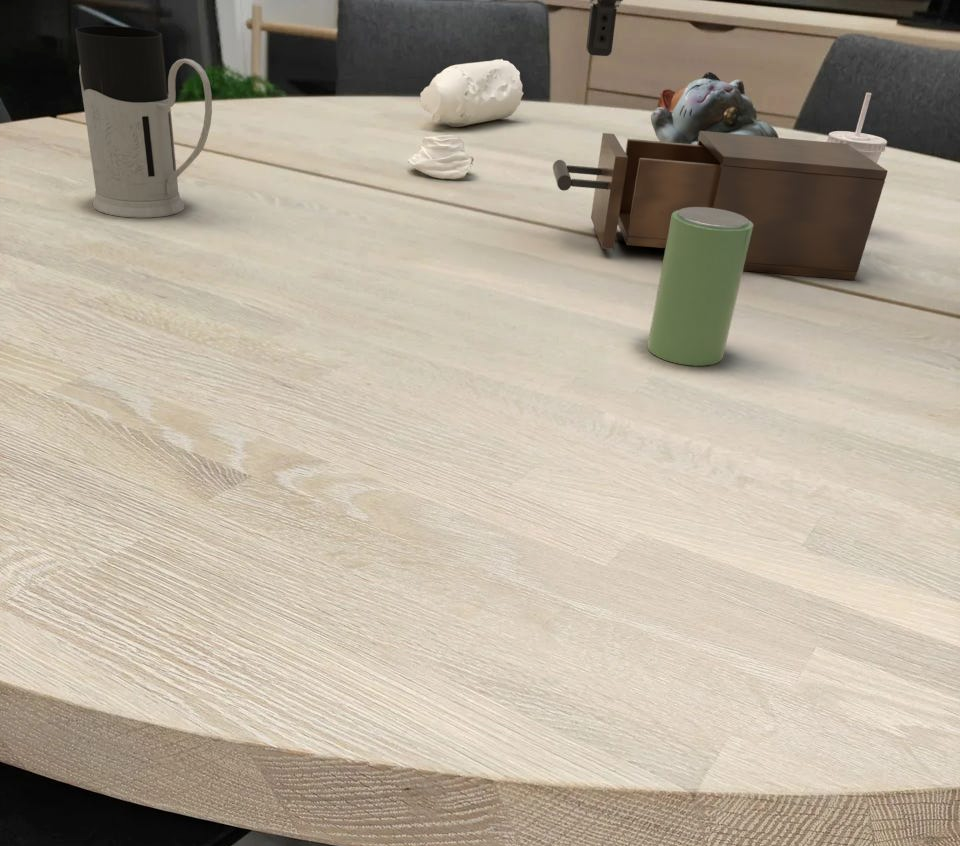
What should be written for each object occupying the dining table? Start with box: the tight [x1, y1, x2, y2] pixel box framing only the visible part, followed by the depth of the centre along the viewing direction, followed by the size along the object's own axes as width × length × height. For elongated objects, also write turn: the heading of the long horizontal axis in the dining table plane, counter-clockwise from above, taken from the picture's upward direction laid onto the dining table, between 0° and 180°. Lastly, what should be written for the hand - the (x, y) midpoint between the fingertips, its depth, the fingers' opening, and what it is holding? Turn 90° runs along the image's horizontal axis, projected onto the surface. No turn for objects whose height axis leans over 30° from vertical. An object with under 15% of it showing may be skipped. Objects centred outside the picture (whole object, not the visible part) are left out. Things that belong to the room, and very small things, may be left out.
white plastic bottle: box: [419, 58, 525, 128], centre depth 146 cm, size 8×19×8 cm, turn 146°
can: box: [646, 207, 754, 367], centre depth 76 cm, size 6×6×10 cm
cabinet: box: [697, 131, 889, 281], centre depth 100 cm, size 16×13×10 cm
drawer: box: [552, 132, 721, 250], centre depth 100 cm, size 19×11×8 cm, turn 90°
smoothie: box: [825, 92, 888, 164], centre depth 111 cm, size 6×6×14 cm
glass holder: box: [74, 25, 213, 219], centre depth 94 cm, size 9×14×15 cm, turn 64°
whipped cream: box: [407, 135, 474, 180], centre depth 120 cm, size 8×7×5 cm
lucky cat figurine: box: [650, 71, 780, 145], centre depth 128 cm, size 15×12×14 cm
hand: (598, 54), depth 92 cm, fingers closed
